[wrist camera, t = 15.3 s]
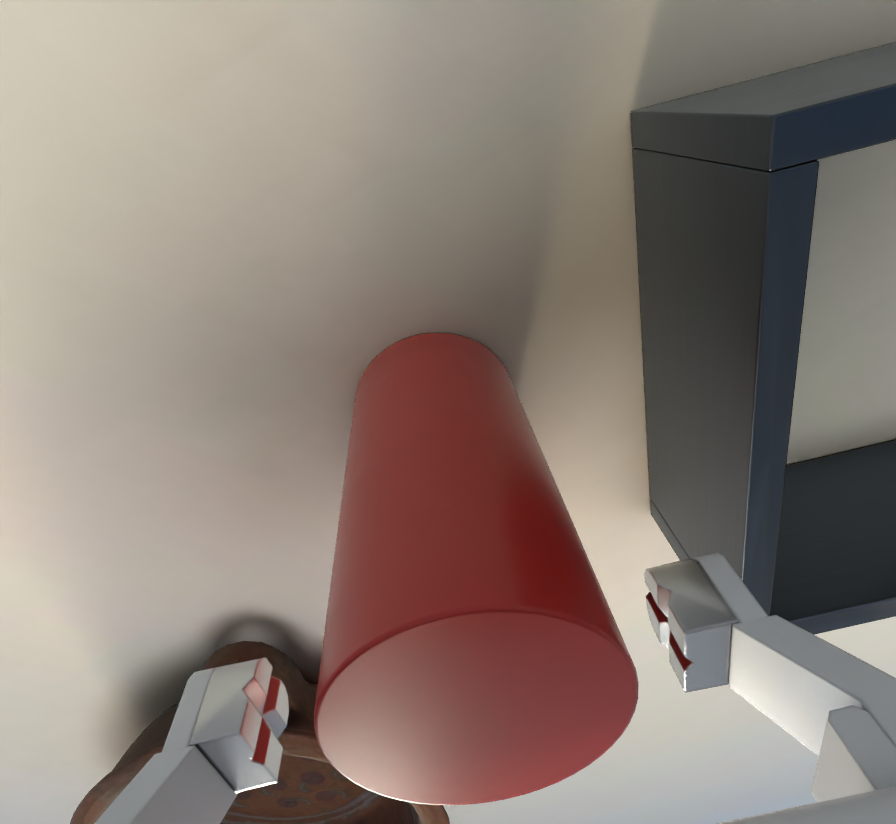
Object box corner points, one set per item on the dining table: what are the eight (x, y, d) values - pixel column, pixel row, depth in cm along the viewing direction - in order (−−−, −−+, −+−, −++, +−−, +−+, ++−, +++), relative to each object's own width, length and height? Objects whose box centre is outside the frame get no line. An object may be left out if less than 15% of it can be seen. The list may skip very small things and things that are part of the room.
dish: (445, 600, 26) (455, 701, 21) (441, 831, 36) (447, 929, 32) (52, 624, 24) (-23, 738, 20) (170, 857, 35) (138, 963, 31)
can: (332, 355, 19) (259, 657, 9) (499, 313, 19) (631, 572, 8) (380, 487, 22) (370, 830, 12) (525, 452, 22) (646, 770, 11)
